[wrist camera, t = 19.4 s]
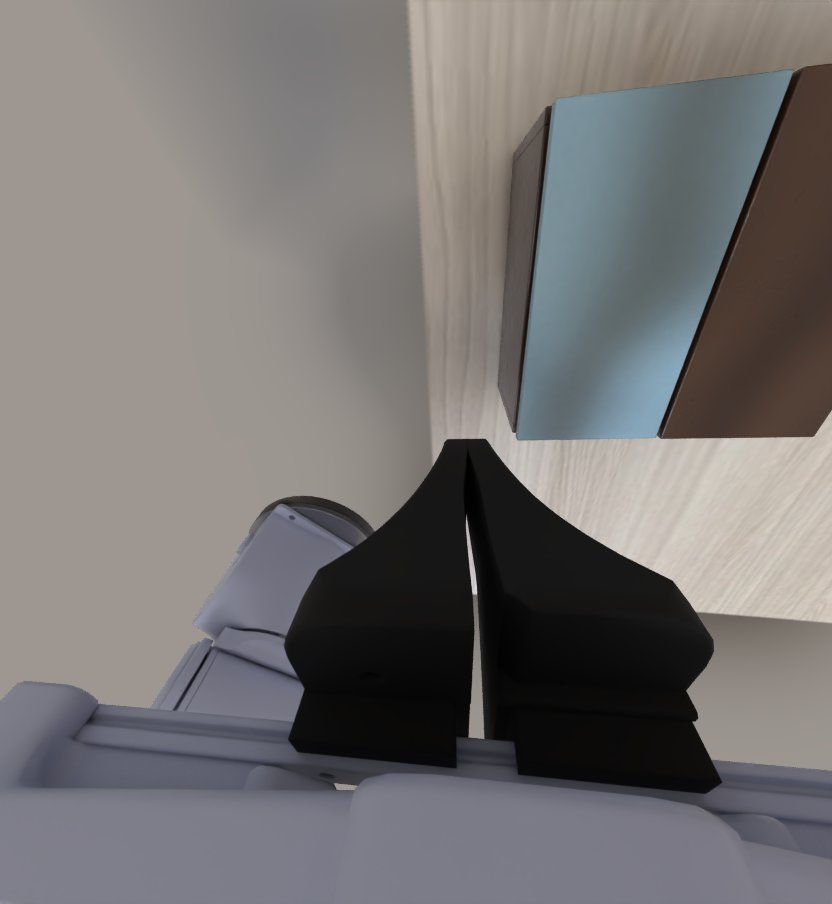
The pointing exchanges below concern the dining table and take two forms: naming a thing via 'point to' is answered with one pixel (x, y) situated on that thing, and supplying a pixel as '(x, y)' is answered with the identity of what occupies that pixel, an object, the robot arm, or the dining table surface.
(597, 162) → the door
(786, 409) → the box
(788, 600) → the dining table surface
